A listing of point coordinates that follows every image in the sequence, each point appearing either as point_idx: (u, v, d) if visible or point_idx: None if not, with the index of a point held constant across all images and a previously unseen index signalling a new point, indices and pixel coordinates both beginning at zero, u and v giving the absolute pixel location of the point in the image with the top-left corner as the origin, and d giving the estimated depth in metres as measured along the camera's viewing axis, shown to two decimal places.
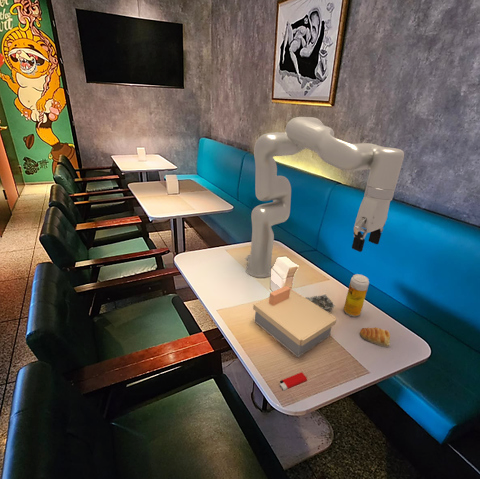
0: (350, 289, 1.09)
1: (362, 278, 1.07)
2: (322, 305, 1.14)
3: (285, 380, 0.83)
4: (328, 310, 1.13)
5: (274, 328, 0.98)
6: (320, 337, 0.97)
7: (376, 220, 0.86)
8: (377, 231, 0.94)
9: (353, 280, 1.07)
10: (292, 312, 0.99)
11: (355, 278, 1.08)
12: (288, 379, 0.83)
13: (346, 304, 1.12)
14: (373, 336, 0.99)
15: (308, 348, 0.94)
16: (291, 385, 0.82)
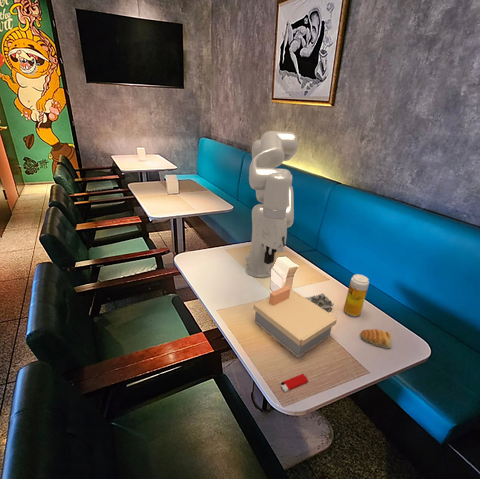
0: (350, 289, 1.09)
1: (362, 278, 1.07)
2: (321, 304, 1.14)
3: (286, 382, 0.82)
4: (327, 309, 1.14)
5: (274, 328, 0.98)
6: (320, 337, 0.97)
7: None
8: None
9: (353, 280, 1.07)
10: (292, 312, 0.99)
11: (355, 278, 1.08)
12: (289, 381, 0.83)
13: (346, 304, 1.12)
14: (374, 337, 0.98)
15: (308, 348, 0.94)
16: (293, 387, 0.81)
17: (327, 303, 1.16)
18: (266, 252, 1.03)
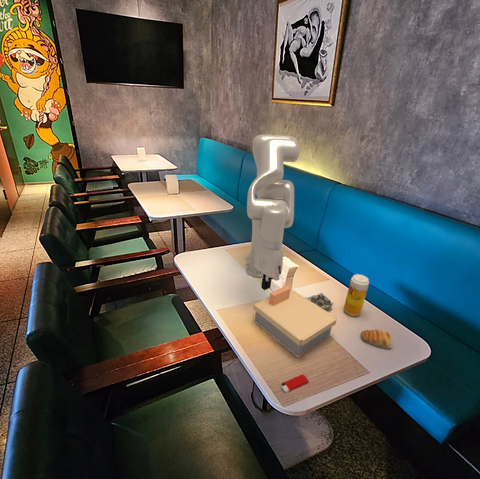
0: (350, 289, 1.09)
1: (362, 278, 1.07)
2: (321, 304, 1.14)
3: (287, 382, 0.82)
4: (327, 308, 1.14)
5: (274, 328, 0.98)
6: (320, 337, 0.97)
7: None
8: None
9: (353, 280, 1.07)
10: (292, 312, 0.99)
11: (355, 278, 1.08)
12: (290, 381, 0.83)
13: (346, 304, 1.12)
14: (375, 338, 0.98)
15: (308, 348, 0.94)
16: (293, 388, 0.81)
17: (326, 302, 1.16)
18: (263, 279, 1.07)
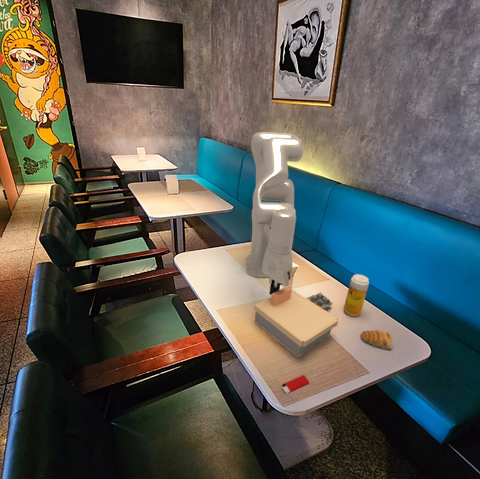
0: (350, 289, 1.09)
1: (362, 279, 1.07)
2: (321, 304, 1.14)
3: (287, 383, 0.82)
4: (327, 308, 1.14)
5: (274, 328, 0.98)
6: (320, 337, 0.97)
7: None
8: None
9: (353, 280, 1.07)
10: (293, 313, 0.99)
11: (355, 278, 1.08)
12: (290, 382, 0.82)
13: (346, 304, 1.12)
14: (375, 339, 0.98)
15: (308, 348, 0.94)
16: (294, 389, 0.81)
17: (326, 302, 1.16)
18: (272, 284, 1.04)
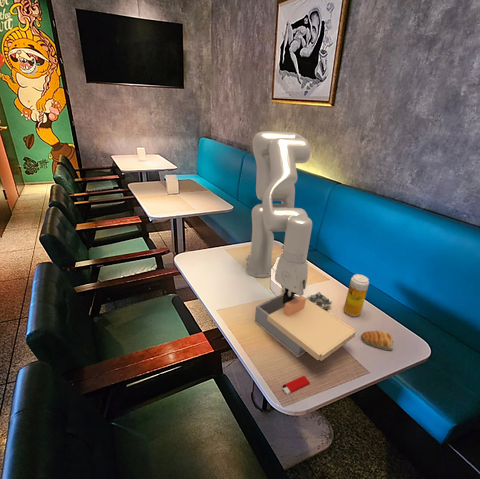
0: (350, 289, 1.09)
1: (362, 278, 1.07)
2: (320, 303, 1.14)
3: (288, 384, 0.82)
4: (326, 307, 1.14)
5: (274, 328, 0.98)
6: None
7: None
8: None
9: (353, 280, 1.07)
10: (308, 324, 0.95)
11: (355, 278, 1.08)
12: (291, 383, 0.82)
13: (346, 304, 1.12)
14: (376, 339, 0.97)
15: None
16: (294, 390, 0.81)
17: (325, 301, 1.17)
18: (285, 293, 1.00)
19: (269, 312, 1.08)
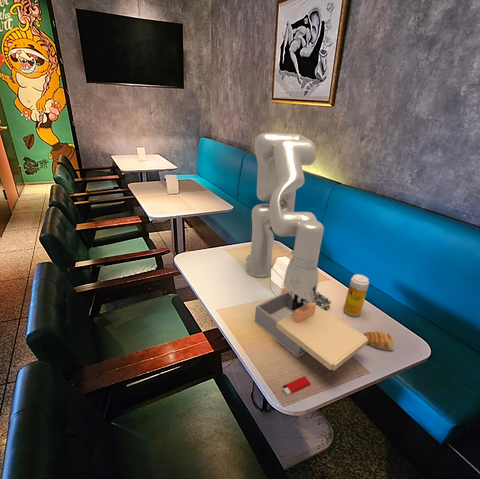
0: (350, 289, 1.09)
1: (362, 279, 1.07)
2: (320, 303, 1.15)
3: (288, 385, 0.82)
4: (326, 307, 1.15)
5: (274, 328, 0.98)
6: None
7: None
8: None
9: (353, 280, 1.07)
10: (319, 331, 0.92)
11: (355, 278, 1.08)
12: (291, 384, 0.82)
13: (346, 304, 1.12)
14: (376, 340, 0.97)
15: None
16: (295, 390, 0.80)
17: (324, 301, 1.17)
18: (294, 299, 0.97)
19: (269, 312, 1.08)
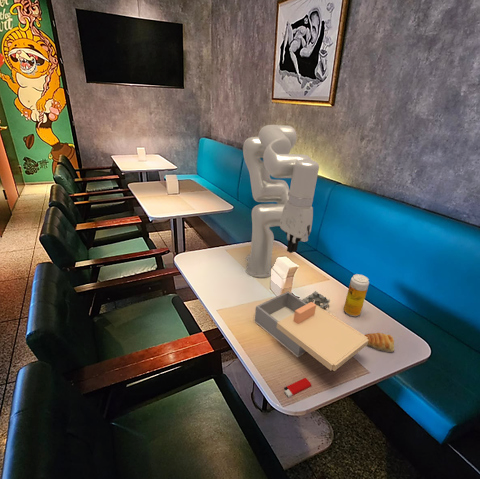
0: (350, 289, 1.09)
1: (362, 278, 1.07)
2: (319, 303, 1.15)
3: (289, 386, 0.81)
4: (325, 306, 1.15)
5: (274, 328, 0.98)
6: None
7: None
8: None
9: (353, 280, 1.07)
10: (319, 332, 0.92)
11: (355, 278, 1.08)
12: (292, 385, 0.82)
13: (346, 304, 1.12)
14: (378, 342, 0.96)
15: None
16: (296, 392, 0.80)
17: (322, 300, 1.17)
18: (289, 241, 1.01)
19: (269, 312, 1.08)
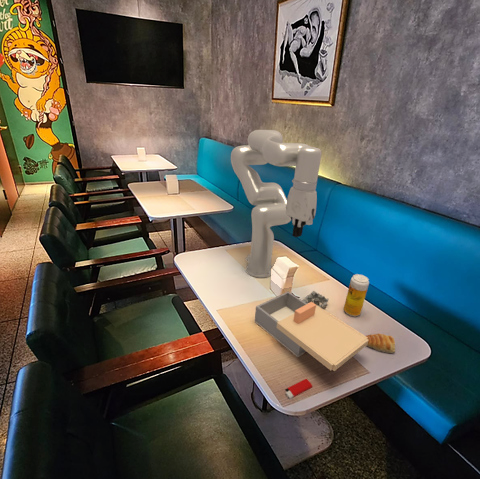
0: (350, 289, 1.09)
1: (362, 278, 1.07)
2: (318, 302, 1.15)
3: (290, 388, 0.81)
4: (324, 305, 1.16)
5: (274, 328, 0.98)
6: None
7: None
8: None
9: (353, 280, 1.07)
10: (319, 332, 0.92)
11: (355, 278, 1.08)
12: (293, 387, 0.81)
13: (346, 304, 1.12)
14: (379, 343, 0.96)
15: None
16: (297, 393, 0.80)
17: (321, 299, 1.18)
18: (295, 225, 1.06)
19: (269, 312, 1.08)
